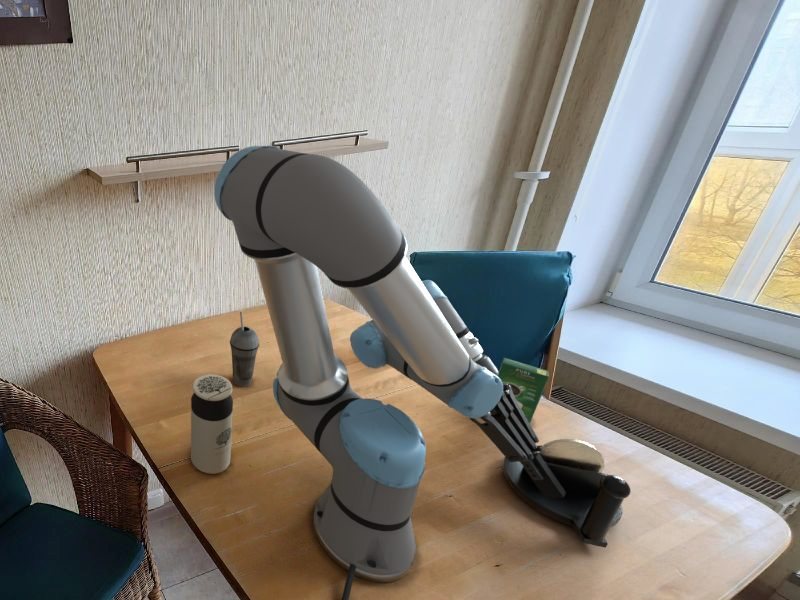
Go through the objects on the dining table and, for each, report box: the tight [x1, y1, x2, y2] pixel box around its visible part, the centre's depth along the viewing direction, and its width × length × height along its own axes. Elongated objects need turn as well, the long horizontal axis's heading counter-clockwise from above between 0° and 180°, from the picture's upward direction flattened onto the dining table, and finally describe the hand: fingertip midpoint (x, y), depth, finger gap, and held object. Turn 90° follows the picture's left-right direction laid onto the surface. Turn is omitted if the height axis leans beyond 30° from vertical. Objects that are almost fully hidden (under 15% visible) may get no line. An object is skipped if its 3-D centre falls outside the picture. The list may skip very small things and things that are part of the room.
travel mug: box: [190, 373, 234, 475], centre depth 83 cm, size 8×8×18 cm
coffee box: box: [498, 357, 550, 424], centre depth 94 cm, size 8×3×13 cm, turn 49°
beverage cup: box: [229, 311, 260, 388], centre depth 106 cm, size 7×7×20 cm
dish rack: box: [501, 438, 632, 548], centre depth 73 cm, size 20×16×13 cm
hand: (555, 495), depth 69 cm, fingers closed
